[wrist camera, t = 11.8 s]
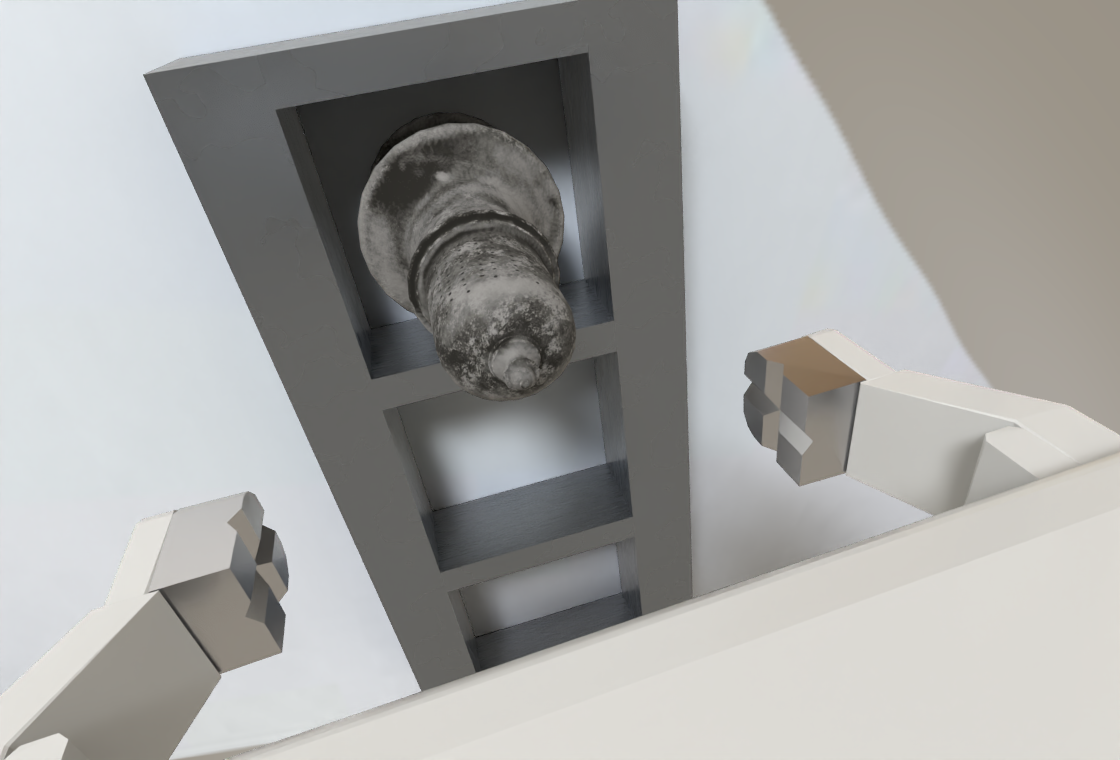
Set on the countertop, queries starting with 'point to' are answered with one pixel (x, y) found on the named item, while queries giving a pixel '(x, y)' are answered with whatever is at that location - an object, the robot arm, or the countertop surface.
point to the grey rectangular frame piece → (408, 347)
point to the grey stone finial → (472, 251)
